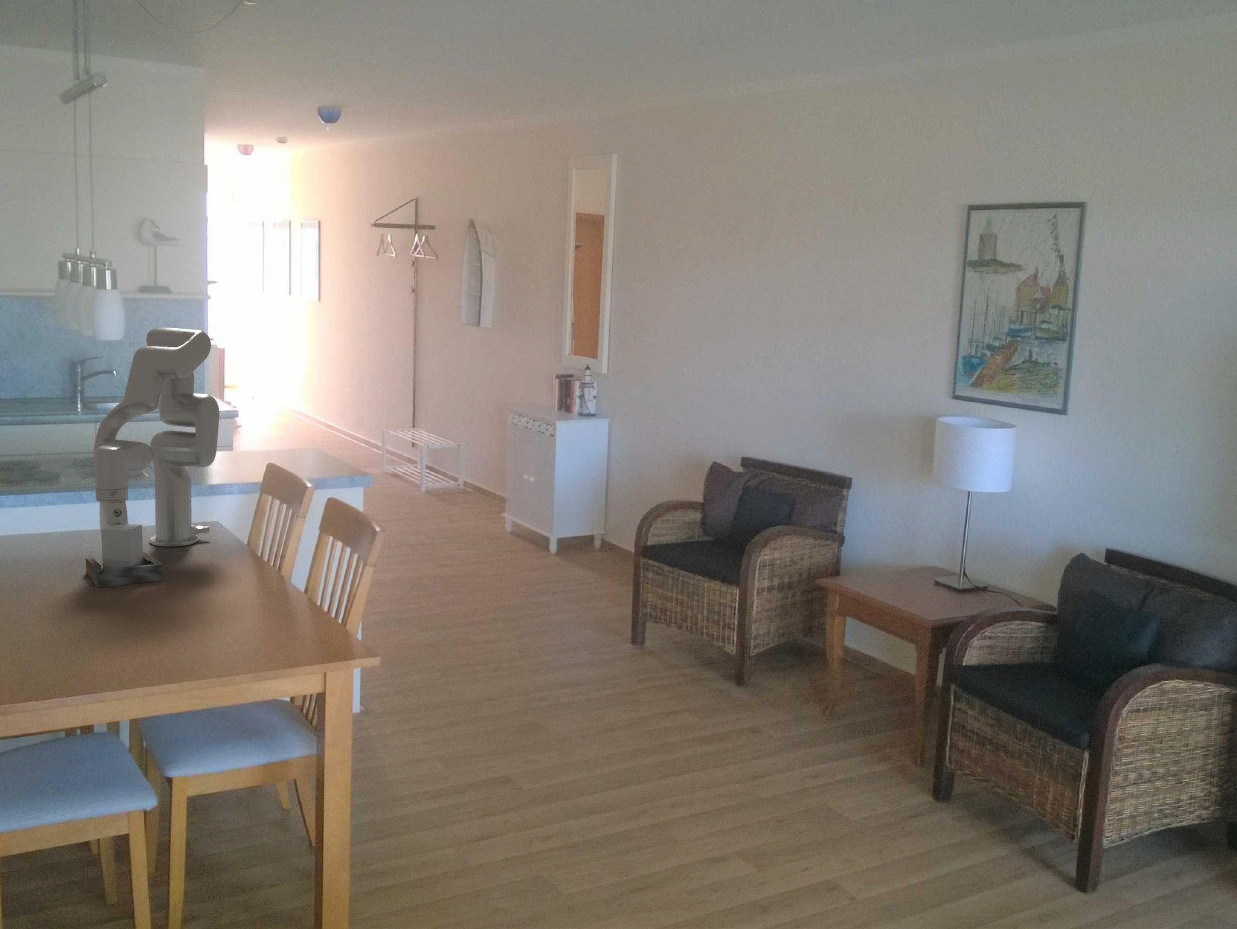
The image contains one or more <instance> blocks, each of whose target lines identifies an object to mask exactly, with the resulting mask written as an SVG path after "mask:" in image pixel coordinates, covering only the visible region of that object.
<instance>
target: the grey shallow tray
mask: <svg viewBox="0 0 1237 929" xmlns="http://www.w3.org/2000/svg"><path fill="white" fill-rule="evenodd" d="M85 574H86V575H87V576H88V577H89V578H90V579H91V580H92V583H93V584H94V585H95V586H96V587H97V588H107V587H115V586H116V587H117V586H122V585H133V584H141V583H143V584H144V583H149V582H157V581H158V582H159V581H163V580H164V578H163V564H162V563H161V562H160V561H159V560H157V559H154V558H152V557H151V556H150V555H149V554H148V553H146V552H145V551H143V565H142V566H133V567H124V568H115V569H106V570H103V567H102V565H101V564H100V563H99V562H98V561H97V560H96V559H95V558H93V557H92V556H91V557H86V558H85Z"/></svg>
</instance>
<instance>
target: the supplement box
mask: <svg viewBox="0 0 1237 929" xmlns="http://www.w3.org/2000/svg"><path fill="white" fill-rule="evenodd" d="M100 533H101V534H100V535H101V557H102V569H103V570H106V569H115V568H124V567H133V566H142V565H143V552H144V550H143V549H144V545H143V543H144V542H143V525H142V524H137V523H136V524H133V523H132V524H131V523H128V524H115V525H110V526H108V527H106V528H104V529H102V530H101V531H100Z"/></svg>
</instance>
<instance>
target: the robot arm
mask: <svg viewBox="0 0 1237 929" xmlns="http://www.w3.org/2000/svg"><path fill="white" fill-rule="evenodd" d="M211 348H212V341H211V339H210V336H209V334H208V333H206V332H205V331H202V330H199V329H188V328H177V327H176V328H175V327H156V328H153V329H152V328H151V329H150V330H149V331H148V332H147V334H146V346H142V347H140V348H138V349H137V350H136V351H135V352H134V354H133V357H132V361H131V366H130V370H129V373H128V378H127V383H126V387H125V391H124V395H123V398H122V400H121V401H120V402H119V403H118V404H117V405H115V406H114V407H113V408H112V409H111V410H110V411H109V412H108V413H107V415H106V416H104V418H103V419H102V421H101V422H100V424H99V426H98V429H97V432H96V436H95V442H94V444H93V459H94V469H95V470H94V472H95V474H94V475H95V476H94V478H95V481H94V482H95V500H96V502H99V530H100V531H99V532H101V530H102V529H104V528H106V527H108V526H110V525H115V524H129V520H128V519H129V518H128V510H127V509H128V508H127V502H126V501H128V500H129V484H128V483H129V478H128V477H129V472H134V471H135V472H136V471H137V472H138V471H143V470H145V469H147V468H148V467H149V466H150V465H151V464H153V465H152V466H153V470H154V472H153V473H154V508H155V509H154V510H155V512H154V515H155V517H154V518H155V535H153V536H150V538H149V544H151V545H153V546H156V547H165V548H166V547H168V548H169V547H172V548H173V547H174V548H175V547H176V548H177V547H183V546H190V545H194V544H196V543H197V542H198V540H199V539H198V538H199V537H198V535H199V534H200V535H201V534H209V533H210V526H202V525H198V526H196V525H193V519H192V518H193V517H192V478H191V475H190V473H189V471H188V470H187V468H186V467H191V468H192V467H193V468H195V467H196V468H207V467H209V466H211V465H212V464H213V463H214V462H215V459H216V456H217V449H218V448H217V447H218V438H219V426H220V425H219V424H220V407H219V403H218V401H217V400H216V398H215V397H213V396H212V395H210V394H206V393H195V374H194V371H196V369H198V368H199V367H200V366H201V365H202V363H204V362H205V361H206V359H207V358H208V357H209V355H210V352H211ZM158 407H159V419H160V421H161V422H162V423H163V424H166V425H168V426H172V427H173V426H174V427H185V428H187V427H188V428H194V429H195V432H192V431H182V430H162V431H158V432H157V433H156V434H154V435H153V437H152V438H151V441H150V442H149V443H150V444H148V443H145V442H142V441H136V440H126V439H116V438H117V436H118V434H119V432H120V430H121V429H122V427H123V426H124V425H126V424H127V423H128V422H130V421H132V420H134V419H135V418H138V417H140V416H143V415H146V414H148V413H150V412H153V411H155V410H156V409H157V408H158Z"/></svg>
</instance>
